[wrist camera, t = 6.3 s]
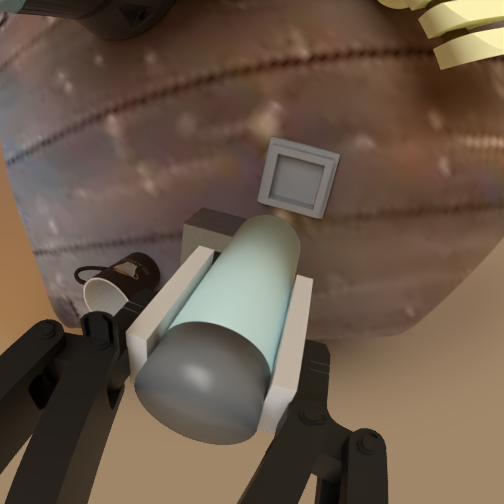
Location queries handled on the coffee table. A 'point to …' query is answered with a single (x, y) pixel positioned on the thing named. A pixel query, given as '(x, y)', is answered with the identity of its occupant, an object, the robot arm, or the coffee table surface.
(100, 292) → the coffee mug
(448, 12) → the slatted curved stool
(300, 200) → the grey square open tray
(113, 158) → the coffee table surface
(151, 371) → the plug
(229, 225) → the port block
